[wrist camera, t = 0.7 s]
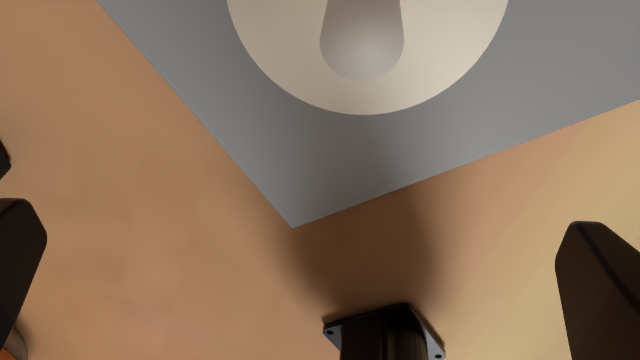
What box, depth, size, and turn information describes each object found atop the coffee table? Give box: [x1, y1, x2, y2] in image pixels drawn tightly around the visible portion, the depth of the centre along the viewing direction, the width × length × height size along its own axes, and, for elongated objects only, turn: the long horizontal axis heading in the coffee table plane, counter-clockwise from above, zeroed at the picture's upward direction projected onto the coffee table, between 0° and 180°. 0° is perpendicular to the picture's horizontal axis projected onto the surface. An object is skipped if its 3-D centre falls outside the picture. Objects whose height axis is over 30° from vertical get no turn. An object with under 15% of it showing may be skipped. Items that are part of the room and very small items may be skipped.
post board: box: [97, 0, 640, 229], centre depth 16 cm, size 18×18×6 cm
